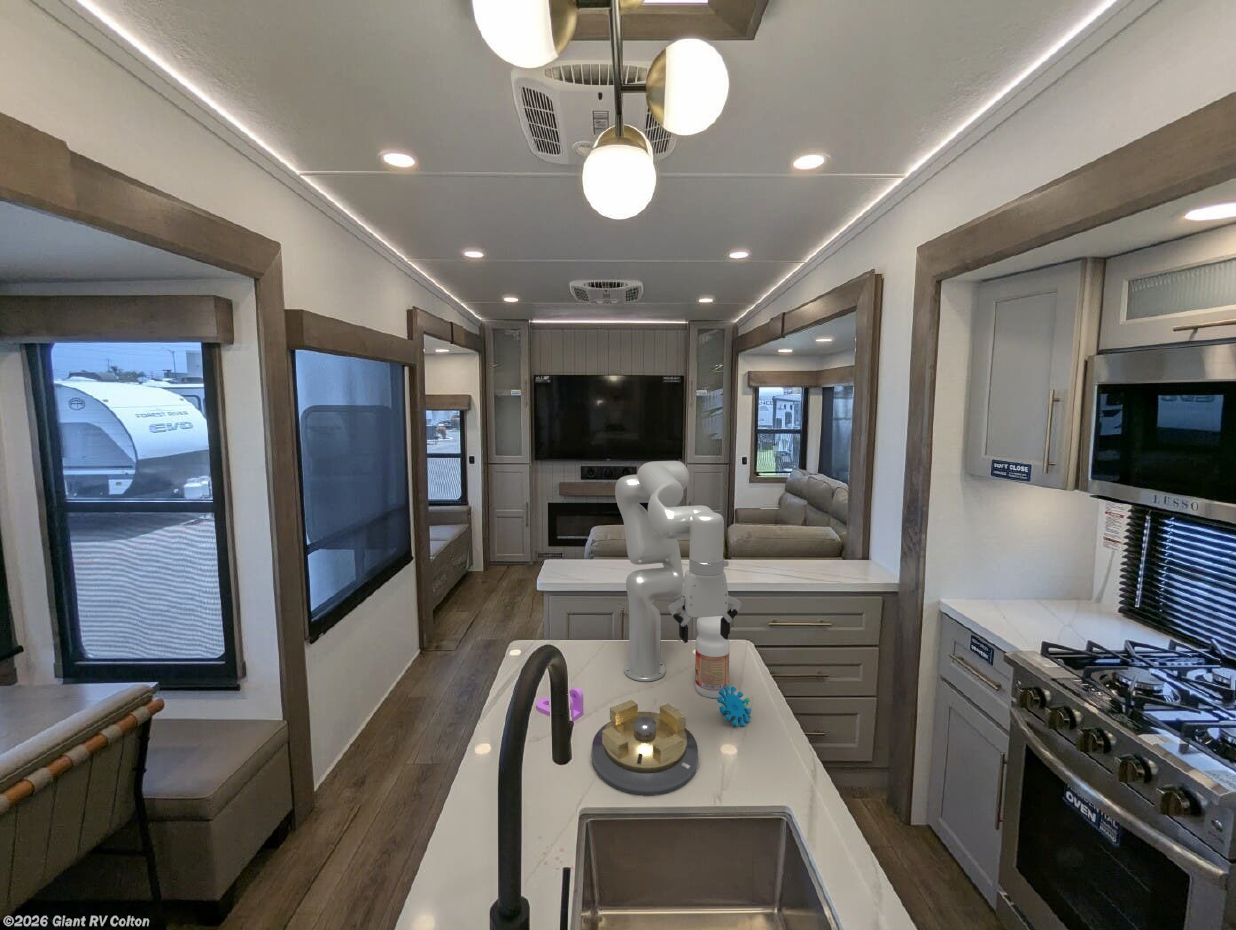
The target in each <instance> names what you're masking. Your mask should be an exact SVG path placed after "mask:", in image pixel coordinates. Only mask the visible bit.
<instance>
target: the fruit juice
mask: <svg viewBox="0 0 1236 930" xmlns="http://www.w3.org/2000/svg"><path fill="white" fill-rule="evenodd" d="M721 618H723V616H713V617H699V618H697V620H696V630H697V636H696V639H695V655H694V656H695V658H694V660H695V665H694V667H695V668H694V669H695V671H694V673H695V674H694V688H695V691H696V692H697V693H698V694H699V695H701V696H703V697H705V698H710V699H717V698H718V697H720V696H721V695H720V694H719V693H718V692H719V691H720V690H722V689H723V690H724V688H723V687H724V686H729V685H730V684H729V683H730V681H729V680H730V678H729V677H730V649H731V648H730V640H729V638H728V640H725V639H724V638H723V637H722V636H721V634H720V623H721ZM729 687H730V686H729ZM724 694H725V696H726V693H725V690H724ZM721 697H722V696H721ZM722 698H723V697H722Z"/></svg>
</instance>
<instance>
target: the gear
mask: <svg viewBox="0 0 1236 930" xmlns="http://www.w3.org/2000/svg"><path fill="white" fill-rule="evenodd" d="M723 688H724V690H725V693H726V695H725V694H724V690H723V689H722V690H720V691H719V692H718V693H719V694H720V695H721V696H722V697H721V696H720V697H718V698H716V699H717V700H716V702H717V703H719V704H721V705H720V706H719V707H718V708H719V712H720V713H721V715H724V719H725V721H726V722H729V721H730V720H731V718H734V719H733V720H732V721H731V725H733V726H734V727H737V726H739V727H745V726H746V723H748V722H749V721H750V720H751V718H750V716H749V715H751V712H752V710H751V709H750V708H748V707H747V706H749V702H751V698H750V697H746V698H744V699H741V698H742V697H743V696H744V693H743V692H742V690H740V691H739V692H737V693H736V694H735V693H734V692H736V691H737V688H736V686H734V685H733V686H724V687H723ZM729 691H730V692H729ZM738 720H739V722H738Z"/></svg>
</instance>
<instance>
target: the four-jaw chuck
mask: <svg viewBox="0 0 1236 930" xmlns="http://www.w3.org/2000/svg"><path fill="white" fill-rule="evenodd" d="M638 706H639V705H638V703H636V701H634V700H632V699H629V700H627V701H625V702H622V703H619V704H617V705H615V706H612V707H609V722H610V723H609V722H608V723H609V724H608V725H607V726H606V728H605V730H602V744H603V747H604V751H605V753H606V755H607V756H608V758H609V759H610V760H611V761H612V762H614V763H615V764H617V765H618V766H620V767H622V768H625V769H627V770H631V771H636V772H644V773H650V772H659V771H663V770H666V769H669V768H671V767H673V766H675V765H676V764H678V763H679V762H680V761H681V760H682V759H683V757H684V756H685V754H686V750H687V736H686V732H685V730H684V729H685V728H686V723H687V720H686V719H687V717H686V716H687V715H685V714H684V713H682V712H681V711H679V710H678V709H676V707H674V706H672V705H671V704H669V702H668V703H665V704H663V705H660V706H659V713H658V712H655V711H654V712H653V711H639V709H638V708H639V707H638ZM686 729H687V728H686Z"/></svg>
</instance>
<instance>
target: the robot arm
mask: <svg viewBox="0 0 1236 930" xmlns="http://www.w3.org/2000/svg"><path fill="white" fill-rule="evenodd" d="M689 482H690V473H689V470H688V468H687V466H686V465H685V464H684V463H683V462H682V461H678V460H658V461H648V462H646V463H643V464H642V465H640V467H639V469H638V470H637V474H630V475H629V474H628V475H624V476H622V477H620V478H618V480H617V481H616V482H615V486H614V487H615V489H614V492H615V493H614V494H615V496H614V497H615V501H616V503H617V507H618V509H619V512H620V514H621V517H622V520H623V527H624V534H625V535H624V536H625V542H626V543H625V545H626V552H627V557H628V560H629V561H630V563H631V564H634V565H637V566H640V565H641V566H642V565H652V564H662V565H663V567H656V568H655V567H651V568H643V569H637V570H634V571H632V572H631V573H629V574H628V575H627V578H626V580H625V587H626V593H627V601H628V613H629V614H628V619H629V620H628V622H629V623H628V625H629V626H628V627H629V629H628V631H629V635H628V637H629V639H628V642H629V643H628V644H629V645H628V649H629V650H628V652H629V653H628V662H626V663H625V665H624V666H623V673H624V674H625V675H626V676H627V677H628V678H629V679H631V680H635V681H638V682H652V681H653V682H654V681H657V680H659V679H662V678H663V677H664V676H665V675H666V666H665V664H664V663H662V662H661V657H662V656H661V653H662V651H661V648H662V645H661V643H662V641H661V638H662V635H661V633H662V631H661V630H662V628H661V627H662V617H661V613H660V610H659V609H658V608H657V607H656V606H655V604H654V602H658V601H664V600H665V601H666V600H673V599H677V600H676V601H674V602H672V603H670V604H669V605H668V606H667V609H668V611H669V613H670V615H671V616H672V618H673V619H674V620H675V621H676V622H677V623H678V625H679V626H678V629H679V630H678V636H679V638H680V639H681V640H682V642H683V643H684V644H687V643H689V626H688V625H687V624H688V623H689V621H690V620H691V619H692V618H693V619H696V618H697V619H698V618H699V617H713V616H723V618H721V623H720V634H721V636H722V637H723V638H724V639H725V640H728V639H729V635H730V634H731V633H730V631H731V623H732V622H733V619H734V618H735V617H736V616H737V615H738V612H739V610H740V608H741V607H742V602H741V601H740V600H739V599H737V598H735V597H732V596H730V595H729V589H728V582H727V576H726V572H725V571H724V569H725V567H729V566H730V565H729V560H725V559H724V536H725V535H724V533H725V529H724V528H725V521H724V517H723V515H721V514H720V513H718V512H715V511H713V510H712V509H711V508H710V507H708V506H706V505H683V506H678V505H679V504H680V502H682V500H683V497H684V490H685V489H687V487H688V485H689ZM641 503H648V504H647V509H646V508H645V507H644V506H643V505H641ZM653 529H654V530H655V531H654V530H653ZM688 538H689V558H688V560H689V561H688V565H689V567H688V568H689V569H688V570H686V571H683V565H682V564H683V563H682V556H681V549H680V546H679V545H680V544H679V541H678V539H688ZM684 572H685V573H684ZM679 597H680V598H679ZM678 598H679V599H678ZM729 604H731V605H732V607H731V608H729ZM680 608H681V610H682V612H681V613H680V614H679V613H678V612H677V610H678V609H680Z"/></svg>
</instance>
